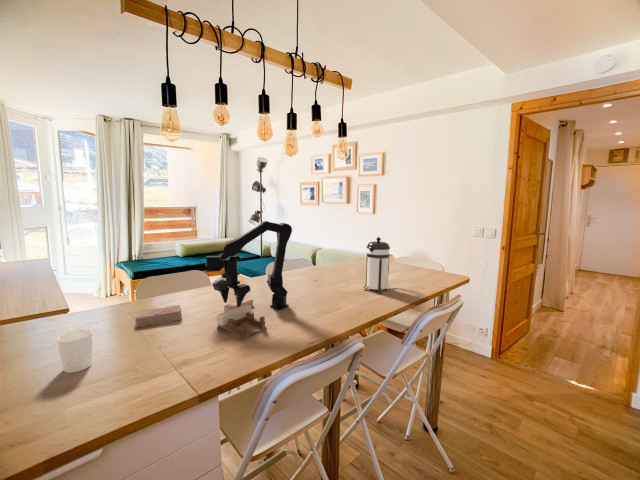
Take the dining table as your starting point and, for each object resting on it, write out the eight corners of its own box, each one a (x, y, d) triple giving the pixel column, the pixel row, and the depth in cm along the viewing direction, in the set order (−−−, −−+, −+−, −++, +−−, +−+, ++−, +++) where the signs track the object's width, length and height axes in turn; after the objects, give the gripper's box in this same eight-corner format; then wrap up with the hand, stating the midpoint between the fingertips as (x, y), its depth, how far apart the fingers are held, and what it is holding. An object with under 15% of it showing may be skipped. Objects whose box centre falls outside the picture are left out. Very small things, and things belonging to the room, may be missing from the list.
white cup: (73, 360, 94) (70, 329, 93) (100, 359, 95) (97, 329, 93) (53, 375, 86) (49, 341, 85) (83, 374, 87) (79, 341, 86)
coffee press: (394, 294, 164) (397, 239, 160) (365, 293, 165) (367, 238, 161) (387, 285, 182) (390, 235, 178) (361, 284, 182) (362, 234, 178)
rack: (241, 319, 127) (241, 307, 127) (266, 328, 119) (266, 316, 118) (216, 329, 118) (216, 316, 117) (242, 340, 109) (241, 326, 108)
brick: (135, 328, 118) (134, 316, 118) (137, 320, 126) (136, 309, 125) (182, 321, 126) (181, 310, 125) (181, 314, 133) (180, 304, 132)
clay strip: (248, 305, 145) (248, 298, 145) (253, 306, 144) (252, 299, 143) (224, 313, 134) (224, 306, 133) (228, 315, 132) (228, 307, 132)
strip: (246, 312, 126) (246, 304, 126) (251, 314, 125) (251, 306, 124) (217, 323, 115) (217, 314, 115) (222, 325, 113) (222, 316, 113)
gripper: (202, 270, 132) (203, 305, 134) (229, 277, 121) (230, 315, 123) (223, 266, 141) (224, 298, 143) (250, 272, 130) (251, 307, 132)
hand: (231, 304), depth 135 cm, fingers open, 9 cm apart
